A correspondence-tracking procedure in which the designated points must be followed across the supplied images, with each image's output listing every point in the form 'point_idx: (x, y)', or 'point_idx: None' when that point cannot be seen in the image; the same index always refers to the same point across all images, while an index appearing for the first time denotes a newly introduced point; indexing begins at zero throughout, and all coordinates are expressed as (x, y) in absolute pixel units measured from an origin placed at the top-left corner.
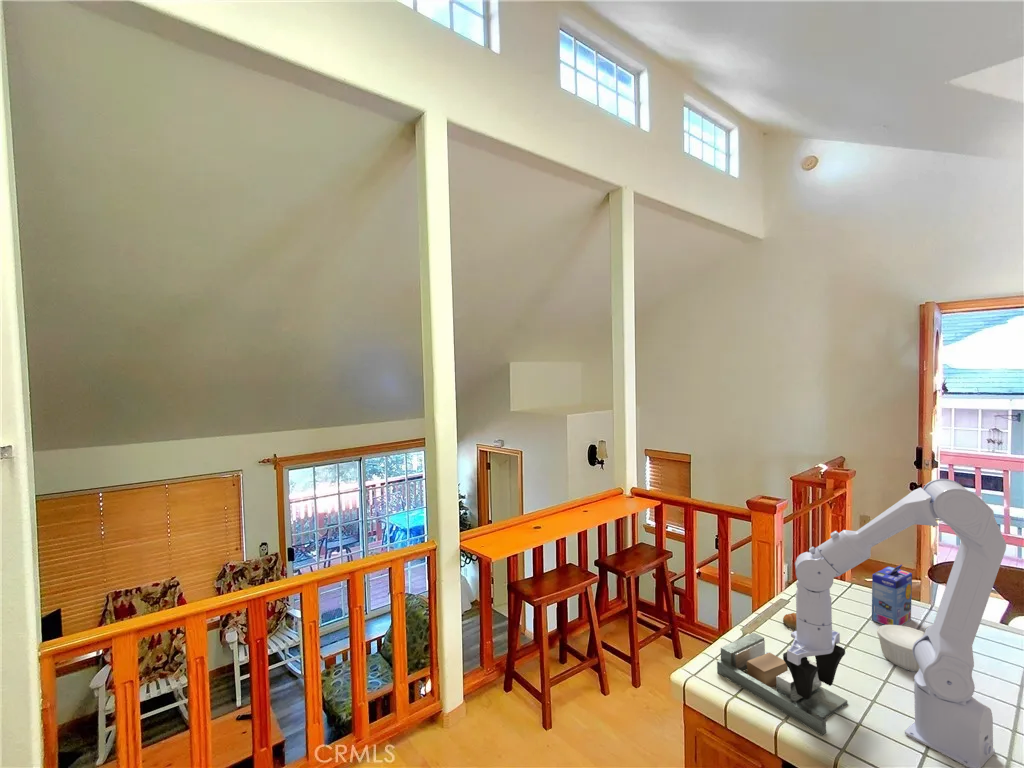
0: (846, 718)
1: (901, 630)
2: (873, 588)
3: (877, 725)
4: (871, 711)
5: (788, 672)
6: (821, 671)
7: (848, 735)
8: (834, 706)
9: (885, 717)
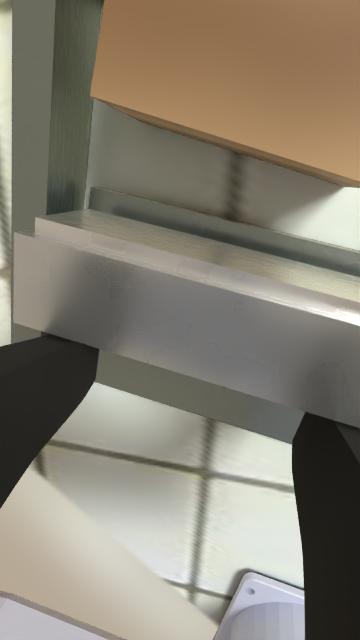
0: (206, 442)
1: None
2: None
3: (241, 515)
4: None
5: (123, 279)
6: (322, 446)
7: (115, 449)
8: (231, 416)
9: None
